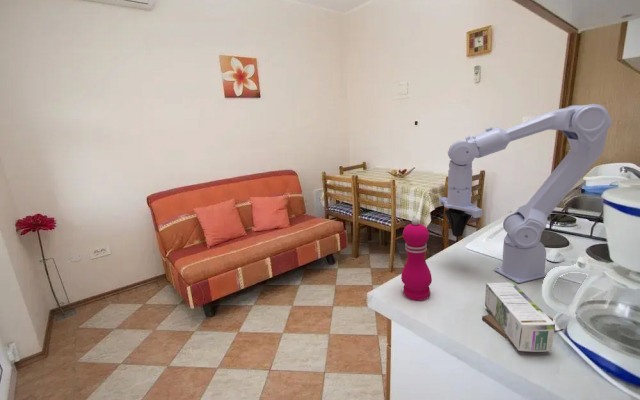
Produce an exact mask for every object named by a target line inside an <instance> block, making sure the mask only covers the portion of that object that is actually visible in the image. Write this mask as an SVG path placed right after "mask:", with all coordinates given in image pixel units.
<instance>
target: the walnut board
mask: <svg viewBox="0 0 640 400" xmlns="http://www.w3.org/2000/svg"><path fill="white" fill-rule="evenodd" d="M547 316H548V317H549V318H550V319H551V320H552V321H553V319H554V318H553V317H551V316H549V315H547ZM481 320H482V321H483V322H485V324H487V325H488V326H490V328H492V329H494V331H496V332H498V334H500V335H501V336H503V337H504V338H505V340H506V339H507V340H508V341H509V342H510V343H511V344H513V342H512V341H511V340H510V338H509V337H508V336H507V334H506V333H505V332H504V330H503V329H502V328H501V326H500V325H499V324H498V322H497V321H496V320H495V318H494V317H493V316H492V314H491V313H489V314H486V315H482V316H481ZM554 333H556V332H555V328H554Z"/></svg>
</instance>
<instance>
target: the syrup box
mask: <svg viewBox="0 0 640 400" xmlns="http://www.w3.org/2000/svg"><path fill="white" fill-rule="evenodd" d="M484 306H485V307H486V309H487V311H488V312H489V314H492V316H493V317H494V318H495V320H496V321H497V322H498V324H499V325H500V326H501V328H502V329H503V330H504V332H505V333H506V334H507V336H508V337H509V338H510V340H511V341H512V342H513V343H512V342H511V343H512V344H513V345H514V346H515V348H516V349H517V350H518V352H519V351H520V352H535V353H536V352H537V353H538V352H541V353H542V352H551V351H553V350H552V349H553V342H554V335H555V334H554V333H555V332H554V328H555V323H554V322H553V321H552V320H551V319H550V318H549V317H550V316H549V315H548V314H546V313H545V312H544V311H543V310H542V309H541V308H539V306H538V305H537V304H536V303H535V302H534V301H533V300H532V299H531V298H529V296H527V294H526V293H525V292H523V291H522V289H521V288H519V287H518V286H517V284H515V283H514V281H513V282H512V281H511V282H510V281H507V282H487V283H486V284H485V297H484ZM548 316H549V317H548Z"/></svg>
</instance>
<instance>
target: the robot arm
mask: <svg viewBox="0 0 640 400" xmlns="http://www.w3.org/2000/svg"><path fill="white" fill-rule="evenodd" d="M612 125H613V121H612V119H611V115H610V113H609V110H607V108H606V107H605V106H604V105H602V104H598V103H597V104H596V103H590V104H584V105H583V104H582V105H580V104H575V105H574V104H573V105H569V106H567V107H564V108H558V109H555V110H551V111H548V112H546V113H542V114H540V115H538V116H535V117H533V118H531V119H527V120H525V121H523V122H521V123H518V124H516V125H514V126H511V127H509V128H505V129H504V128H501V127H494V128H493V127H491V126H489V127H487V128H485V131H483V132H480V133H478V134H475V135H473V136H470V135H467V136H465V140H456V141H455V142H453V143H452V144H451V145H450V146H449V147H448V151H447V156H448V157H449V159H450V160H449V163H448V168H449V169H448V171H447V173H448V176H447V197H445V196H442V197H438V205H440V206H443V207H444V208H446V210H444V214H445V216H446V217H447V220H448V223H449V226H450V228H451V233H452V236H454V237H456V238H457V237H462V236H463V234H464V232H465V228H466V225H467V224H468V222H469V220H470V219H471V218H474V219H477V218H482V217H483V208H480V207H477V206H476V205H475V204H473V203H472V189H473V187H472V186H473V169H472V168H473V161H474V160H475V159H480V158H484V157H487V156H490V155H492V154H495V153H497V152H501V151H503V150H506V148H508V147H507V146H508V145H509V144H510V142H513V141H516V140H520V139H522V138H525V137H529V136H532V135H535V134H538V133H542V132H544V131H549V130H551V131H553V130H554V131H556V130H557V131H561V132H562V133H563V135H564V136H565V137H566V139H567V141H568V142H567V143H568V145H569V149H570V150H569V151H568V152H567V154H566V155H565V156H564V157H563V159H561V161H560V162H559V164H558V165H557V166H556V167H555V168H554V170H553V171H552V172H551V174H550V175H549V176H548V177H547V179H545V181H544V182H542V185H541V186H540V187H539V188H538V189H537V190H536V192H535V193H534V194H533V196H531V198H530V199H529V200H528V202H527V203H526V204H524V205H522V206H520V207H518V208H517V209H516V210H515V211H514V212H513V213H511V214H509V215H507V216H506V217H505V218H504V220H503V224H502V226H503V229H504V231H505V233H506V235H505V237H504V238H503V245H502V248H503V249H502V250H503V251H502V262H501V263H502V266H498V267H495V268H494V269H493V270H494V271H495V272H497V273H498V274H500V275H501V276H503V277H505V278H508V279H509V280H511V281H513V282H515V283H517V284H522V283H525V282H529V281H533V280H536V279H541V278H544V277H546V276H545V275H546V274H547V273H546V272H545V270H546V269H545V268H546V261H547V259H546V258H547V250H546V247H545V245H544V244H543V243H542V242H541V237H542V234H543V231H545V229H546V228H547V223H548V217H549V216H550V215H551V214H552V212H553V211H554V210H555V209H556V208H557V207H558V205H559V204H560V203H561V202H562V201H563V200H564V199H565V197H566V196H568V194H569V193H570V191H571V190H572V189H573V188H574V187H575V186H576V185H577V184H578V182H579V181H580V180H581V179H582V178H583V176H585V174H586V173H587V172H588V171H589V170H590V169H591V167H592V166H593V165H594V164H595V163H596V162H597V161H598V159H599V158H601V156H602V154H603V153H604V150H605V146H606V140H607V137H608V136H607V135H608V130H609V129H610V128H611V126H612Z"/></svg>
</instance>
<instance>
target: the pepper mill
mask: <svg viewBox="0 0 640 400" xmlns="http://www.w3.org/2000/svg"><path fill="white" fill-rule="evenodd" d="M402 238H403V240H404V241H405V243H404V246H405V248H404V249H405V250H406V253H407V259H406V262H405V263H404V267H403V269H402V271H401V279H400V280H401V282H402V284H403V295H404V296H405V297H406V298H407V299H410V300H413V301H424V300H427V299H428V298H429V297H430V294H431V288H430V285H431V284H432V281H433V277H432V273H431V270H430V268H429V267H428V264H427V261H426V256H425V254H426V253H425V252H426V251H427V250H428V248H427V246H428V243H427V242H428V240H429V238H430V232H429V230H428V228H427V227H426V225H424V224H421V223H420V220H419V218H418V217H413V218H412V219H411V223H409V224H408V225H406V226H404V229H403V231H402Z"/></svg>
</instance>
